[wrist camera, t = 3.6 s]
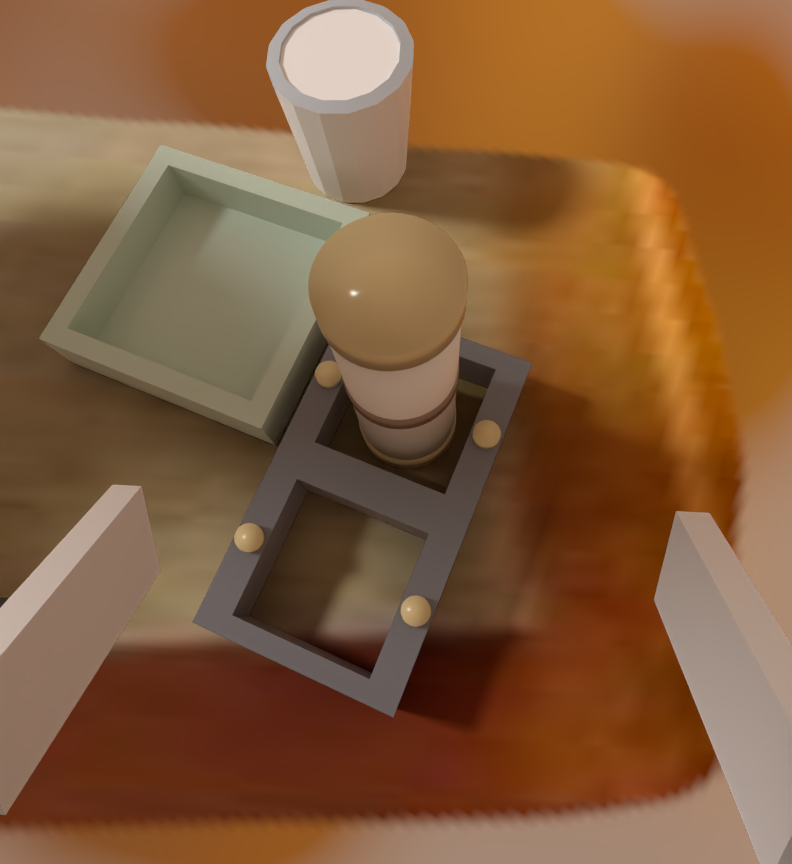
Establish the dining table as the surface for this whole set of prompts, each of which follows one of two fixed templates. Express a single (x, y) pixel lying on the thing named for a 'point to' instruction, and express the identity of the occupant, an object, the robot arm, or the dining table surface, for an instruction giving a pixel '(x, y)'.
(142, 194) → the parts tray
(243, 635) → the block
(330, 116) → the white cylinder
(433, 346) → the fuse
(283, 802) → the dining table surface
